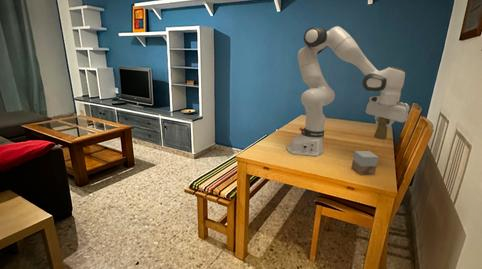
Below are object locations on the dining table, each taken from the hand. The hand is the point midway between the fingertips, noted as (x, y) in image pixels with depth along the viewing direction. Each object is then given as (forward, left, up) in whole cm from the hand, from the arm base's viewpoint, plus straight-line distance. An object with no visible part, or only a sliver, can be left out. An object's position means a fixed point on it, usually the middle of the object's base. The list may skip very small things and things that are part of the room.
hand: (382, 126), depth 131 cm
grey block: (-11, -8, -18) cm, 22 cm away
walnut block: (-11, -8, -23) cm, 26 cm away
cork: (0, 0, -7) cm, 7 cm away
